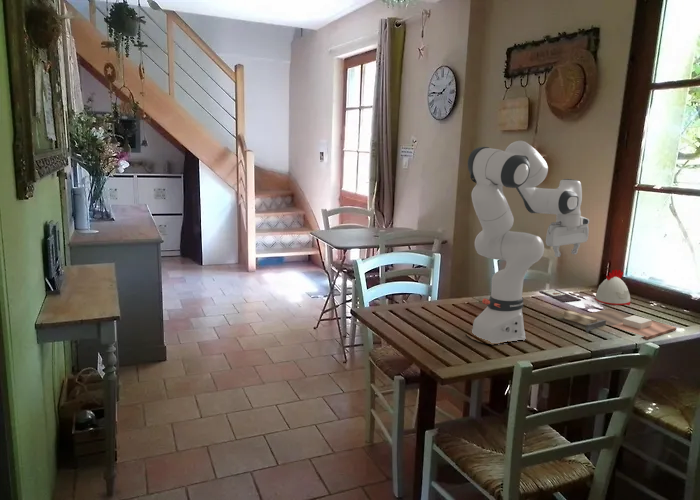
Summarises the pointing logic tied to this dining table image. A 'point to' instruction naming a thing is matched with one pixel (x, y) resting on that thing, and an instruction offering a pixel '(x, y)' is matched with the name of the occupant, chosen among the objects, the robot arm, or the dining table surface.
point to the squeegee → (584, 320)
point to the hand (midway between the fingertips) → (566, 255)
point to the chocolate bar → (560, 296)
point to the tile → (637, 322)
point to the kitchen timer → (613, 290)
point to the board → (616, 320)
